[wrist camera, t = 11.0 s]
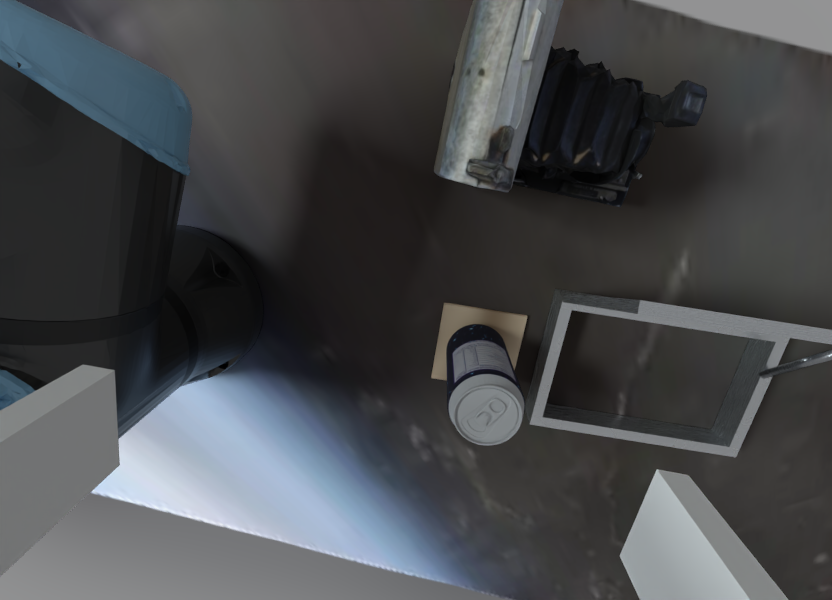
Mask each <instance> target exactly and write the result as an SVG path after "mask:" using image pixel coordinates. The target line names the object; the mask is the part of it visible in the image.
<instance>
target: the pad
mask: <svg viewBox="0 0 832 600" xmlns="http://www.w3.org/2000/svg"><path fill="white" fill-rule="evenodd" d="M526 321H527V315H522V314H515V313H509V312H503V311H496V310H490V309H484V308H477V307H471V306H464V305H458V304H452V303H445V302H444V306H443V312H442V318H441V324H440V329H439V335H438V341H437V346H436V352H435V358H434V364H433V369H432V375H431V378H434V379H440V380H447V363H446V348H447V344H448V341H449V339H450V338H451V336H452V335H453V334H454V333H455V332H456V331H457V330H458V329H460V328H462V327H464V326H467V325H471V324H482V325H486V326H489V327H491V328H493V329H494V330H496V331H497V332H498V333H499V334H500V335H501V337H502V338H503V340H504V343H505V345H506V348H507V351H508V354H509V357H510V359H511V362H512V365H513V368H514V371H515V367H516V363H517V358H518V354H519V350H520V346H521V342H522V338H523V334H524V329H525V325H526Z"/></svg>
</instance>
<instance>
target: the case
mask: <svg viewBox="0 0 832 600" xmlns="http://www.w3.org/2000/svg"><path fill="white" fill-rule="evenodd" d="M572 310H574V311H581V312H587V313H594V314H600V315H606V316H613V317H619V318H626V319H632V320H638V321H645V322H651V323H658V324H664V325H670V326H677V327H683V328H690V329H696V330H702V331H709V332H715V333H722V334H728V335H734V336H741V337H747V338H750V340H749V342H748V345H747V347H746V349H745V352H744V354H743V356H742V359H741V361H740V364H739V366H738V368H737V371H736V373H735V375H734V378H733V380H732V383H731V385H730V387H729V390H728V392H727V394H726V397H725V399H724V401H723V404H722V406H721V409H720V411H719V413H718V416H717V418H716V420H715V423H714V425H713V428H712V430H711V429H704V428H698V427H692V426H686V425H679V424H673V423H667V422H660V421H654V420H648V419H642V418H635V417H629V416H623V415H616V414H610V413H604V412H598V411H591V410H585V409H579V408H572V407H566V406H560V405H554V404H547V403H546V402H547V398H548V395H549V391H550V388H551V384H552V380H553V377H554V373H555V369H556V366H557V362H558V358H559V355H560V351H561V347H562V344H563V340H564V337H565V333H566V329H567V326H568V322H569V318H570V315H571V311H572ZM790 338H794V339H801V340H807V341H813V342H820V343H826V344H832V330H829V329H822V328H816V327H810V326H803V325H797V324H790V323H784V322H777V321H771V320H765V319H758V318H752V317H745V316H739V315H733V314H726V313H720V312H713V311H707V310H700V309H694V308H688V307H681V306H675V305H668V304H662V303H655V302H649V301H643V300H633V299H623V298H612V297H605V296H598V295H592V294H586V293H579V292H573V291H566V290H560V289H555V291H554V295H553V299H552V303H551V307H550V311H549V315H548V318H547V322H546V326H545V330H544V334H543V338H542V342H541V346H540V350H539V353H538V357H537V361H536V365H535V369H534V373H533V377H532V381H531V385H530V388H529V392H528V396H527V400H526V404H525V412H526V415H527V418H528V421H529V424H530V425H536V426H543V427H549V428H555V429H561V430H568V431H574V432H580V433H586V434H593V435H599V436H605V437H612V438H618V439H624V440H630V441H637V442H643V443H649V444H655V445H662V446H668V447H674V448H680V449H687V450H693V451H699V452H705V453H712V454H718V455H724V456H731V457H736V456H737V454H738V452H739V450H740V447H741V445H742V443H743V441H744V438H745V436H746V434H747V432H748V430H749V427H750V425H751V423H752V421H753V419H754V416H755V414H756V412H757V410H758V408H759V405H760V403H761V401H762V399H763V397H764V394H765V392H766V390H767V388H768V386H769V383H770V381H771V379H772V377H773V376H776V375H780V374H783V373H787V372H790V371H794V370H797V369H801V368H805V367H808V366H812V365H815V364H819V363H822V362H826V361H829V360H832V350H828V351H825V352H822V353H819V354H815V355H812V356H809V357H806V358H802V359H799V360H796V361H792V362H789V363H786V364H783V365H779V366H778V364H779V361H780V359H781V357H782V355H783V352H784V350H785V348H786V346H787V344H788V341H789V339H790Z"/></svg>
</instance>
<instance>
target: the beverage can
mask: <svg viewBox="0 0 832 600" xmlns="http://www.w3.org/2000/svg"><path fill="white" fill-rule="evenodd" d="M446 363H447V407H448V414H449V417H450V419H451V421H452V423H453V424H454V425H455V427H456V428H457V430H458V432H459V433H460V434H461V435H462V436H463V437H464V438H465V439H467V440H468V441H470V442H472V443H475V444H479V445H486V446H489V445H497V444H500V443H503V442H505V441H507V440H509V439H510V438H511V437H513V436H514V435H515V434H516V432H517V431H518V429H519V428H520V426H521V423H522V418H523V415H524V411H525V400H524V396H523V393H522V390H521V387H520V385H519V382H518V379H517V376H516V373H515V371H514V368H513V365H512V362H511V359H510V357H509V354H508V351H507V348H506V345H505V343H504V340H503V338H502V337H501V335H500V334H499V333H498V332H497V331H496V330H494V329H493V328H491V327H489V326H486V325H482V324H471V325H467V326H464V327H462V328H460V329H458V330H457V331H456V332H455V333H454V334H453V335H452V336H451V338H450V339H449V341H448V344H447V348H446Z"/></svg>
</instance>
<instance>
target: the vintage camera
mask: <svg viewBox="0 0 832 600" xmlns="http://www.w3.org/2000/svg"><path fill="white" fill-rule="evenodd" d="M563 1H564V0H473V3H472V6H471V9H470V12H469V17H468V19H467V23H466V26H465V29H464V31H463V35H462V38H461V41H460V45H459V48H458V52H457V58H456V60H455V62H454V66H453V71H452V75H451V80H450V85H449V93H448V100H447V106H446V111H445V116H444V121H443V126H442V131H441V136H440V141H439V146H438V151H437V156H436V160H435V165H434V172H435V173H436V174H437V175H438V176H439V177H441V178H445V179H449V180H453V181H456V182H460V183H464V184H467V185H471V186H474V187H476V188H483V189H491V190H496V191H502V192H509V190H510V189H511V188H512V185H513V184H515V185H520V186H524V187H529V188H534V189H539V190H543V191H548V192H553V193H557V194H561V195H566V196H570V197H575V198H580V199H585V200H589V201H594V202H599V203H603V204H608V205H612V206H617V207H621V205H622V203H623V201H624V199H625V197H626V194H627V191H628V188H629V186H630V183H631V180H632V177H633V179H635V178H637V179H640V178H641V177H642V174H640V173H639V172H637V171H635V169H636V166H637V164H638V163H639V161H640V160H641V159H642V158H643V157H644V156H645V155H646V153H647V151H648V149H649V146H650V144H651V142H652V139H653V137H654V133H655V128H656V127H655V122H662V123H663V125H664V126H665V127H683V126H695V125H696V124H697V122H698V120H699V118H700V116H701V114H702V111H703V107H704V104H705V101H706V97H707V90H706V88H705V87H704V86H701V85H698V84H696V83H693V82H691V81H689V80H686V81H681V83H680V84H679V85H677V86H676V87H675V90H674V91H673V92H671V93H670V94H668V95H666V96H665V97H663V98H660V95H655V94H650V93H646V92H643V82H642V81H639V80H636V79H632V78H620V79H616V80H615V79H614V78H613V76H612V75H611V72H610V69H609V70H606V69H605V68H604V66H603V63H602V61H601V62H600V63H599V64H598V63H596V64H588V65H586V66H584V65H583V63H582V62H581V61H580V60H579V58H578V53H579V51H577V50H575V49H573V50H569V51H566V50H565V48H564V47H563V48H560V49H556V50H554V48H553V47H552V46H551V44H552V40H553V37H554V33H555V29H556V26H557V22H558V18H559V15H560V11H561V8H562V5H563ZM654 121H655V122H654Z"/></svg>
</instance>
